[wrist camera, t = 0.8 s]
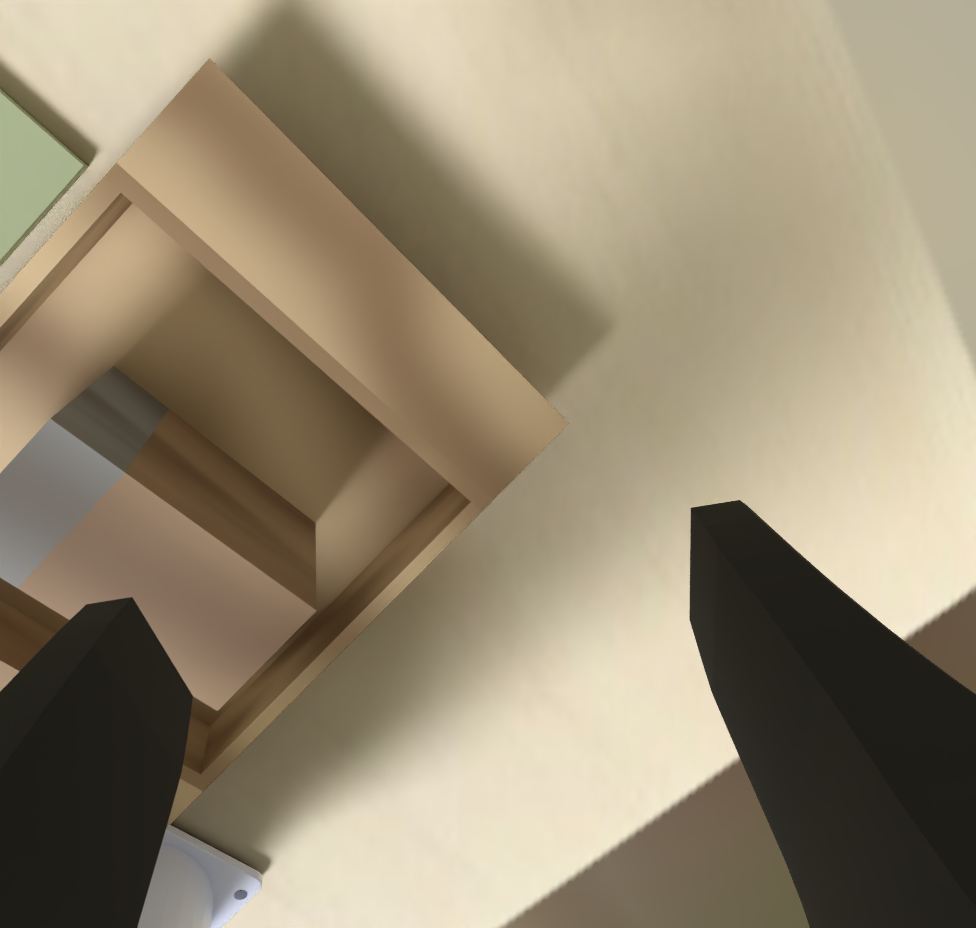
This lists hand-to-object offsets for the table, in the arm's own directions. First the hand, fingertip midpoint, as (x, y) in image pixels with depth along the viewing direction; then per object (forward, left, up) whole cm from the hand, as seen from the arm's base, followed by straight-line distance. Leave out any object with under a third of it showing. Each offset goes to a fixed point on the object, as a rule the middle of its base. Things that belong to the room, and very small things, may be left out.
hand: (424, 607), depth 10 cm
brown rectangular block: (-7, +1, -16) cm, 17 cm away
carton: (-7, +1, -16) cm, 18 cm away
